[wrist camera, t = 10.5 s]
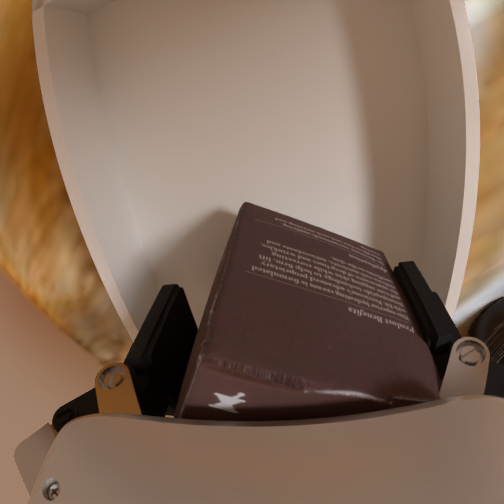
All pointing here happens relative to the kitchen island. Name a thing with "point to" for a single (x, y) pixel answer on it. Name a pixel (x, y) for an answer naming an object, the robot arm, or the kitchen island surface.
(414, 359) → the box
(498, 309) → the supplement bottle
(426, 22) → the white tray
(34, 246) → the kitchen island surface
